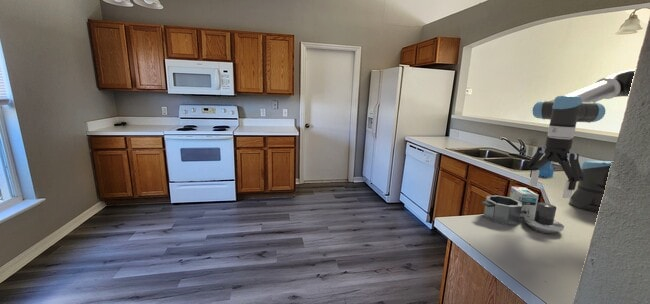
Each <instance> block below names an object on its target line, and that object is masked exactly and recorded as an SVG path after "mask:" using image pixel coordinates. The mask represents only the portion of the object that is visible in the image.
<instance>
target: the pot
mask: <svg viewBox="0 0 650 304" xmlns="http://www.w3.org/2000/svg"><path fill="white" fill-rule="evenodd" d="M481 205H483V206H484V209H483V210H484V211H483V217H484V218H486V219H487V220H490V221H491V222H493V223H497V224H501V225H504V226H505V225H506V226H512V225H513V226H514V225H519V223H520V218H521V216H520V214H521V208H522V205H525V203H524V202H521V201H519V200H515V199H513V198H510V196H503V195H497V194H496V195H487V196H486V198H485V201H481Z"/></svg>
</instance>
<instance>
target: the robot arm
mask: <svg viewBox="0 0 650 304" xmlns="http://www.w3.org/2000/svg"><path fill="white" fill-rule="evenodd" d="M635 69H636V68H632V69H627V70H623V71H619V72H616V73H613V74H610V75H607V76H605V77H602V78H600V79H598V80H597V81H596V82H595V83H593V84H590V85H588V86H586V87H583V88H581V89H578V90H575V91H572V92H570V93H567V94H565V95H557V96H556V97H555V98H554V99H552V100H548V101H547V100H544V101H543V100H542V101H537V102H536V103H535V104H534V105H533V107H532V111H531V112H532V115H533V117H534V118H537V119H540V120H549V121H550V122H549V125H548V129H547V137H546V139H545V144H544V145H545V146H543V147H540V146H538V147H537V148H536V152H535V153H534V155H533V156H532V158H531V159H530V161H529V162H528V163H527V164H526V167H527V168H529V169H530V174H529V177H530V180H529V187H537V185H538V181H539V177H540V176H539V168H540V167H542V166H543V165H544V164H546V163H547V162H548V161H551V162H554V163H558V165H560V166H561V169H562V170H563V172H564V174H565V175H566V178H567V179H568V180H565V183H564V184H565V185H564V190H563V194H562V198H563V199H569V204H570V205H571V206H574V207H576V208H578V209H581V210H585V211H589V212H594V213H595V212H596V213H599V212H598V211H599V207H600V204H601V200H602V197H603V194H604V190H605V185H606V181H607V177H608V172H609V168H610V166H611V162H613V161H611V160H610V161H609V160H585V161H583V163H582V165H581V164H580V162H579V156H580V155H579V153H570V150H571V149H572V145H573V141H574V140H573V138H574V137H575V133H576V128H577V127H576V126H577V123H589V124H590V123H596V122H598V121H601V120H602V119H603V118H604V117H605V115H606V107H605V106H604V105H603V104H602V103H599V102H600V101H602V100H610V99H614V98H617V97H618V98H619V97H629V96H628V94H629V91H630V87H631V83H632V79H633V76H634V72H635ZM544 154H545V155H544ZM576 187H577V188H576ZM573 191H574V192H573Z"/></svg>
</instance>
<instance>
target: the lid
mask: <svg viewBox="0 0 650 304" xmlns="http://www.w3.org/2000/svg"><path fill="white" fill-rule="evenodd" d="M556 210H557V206H555V205H553V204H551V203H546V202H537V207H536V212H535V216H534V215H528V216H525V217H523V221H524V223H526V225H528V226H529V227H530V228H531V229H532V230H534V231H536V230H537V231H536V232H538V233H542V232H543V233H542V234H547V235H548V234H549V235H552V234H555V233H559V232H563V231H564V228H565V225H563V223H561V222H560V221H558V220H555V217H556V216H555V215H556Z"/></svg>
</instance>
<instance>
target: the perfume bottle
mask: <svg viewBox="0 0 650 304" xmlns="http://www.w3.org/2000/svg"><path fill="white" fill-rule="evenodd" d="M538 171H539V175H540V176H539V177H542V176H544V177H543V178H548V179H549V178H553V177H554V172H555V167H554V165H553V164H552V161H548V162H547V163H546V164H544V165H543V166H542V167H540V168H539V170H538Z"/></svg>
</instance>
